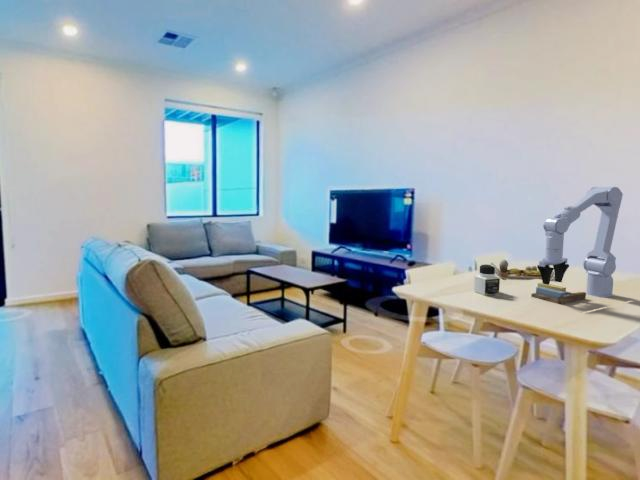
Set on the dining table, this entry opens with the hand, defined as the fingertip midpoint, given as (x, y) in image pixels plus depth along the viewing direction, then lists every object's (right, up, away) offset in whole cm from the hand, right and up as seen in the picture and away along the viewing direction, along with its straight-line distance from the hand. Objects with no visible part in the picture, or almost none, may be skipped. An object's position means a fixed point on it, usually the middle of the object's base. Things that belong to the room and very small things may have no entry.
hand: (552, 282), depth 154 cm
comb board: (+3, -7, +2) cm, 8 cm away
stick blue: (0, -6, +1) cm, 6 cm away
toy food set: (+10, -2, +43) cm, 45 cm away
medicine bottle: (-21, -6, +12) cm, 25 cm away
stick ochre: (+4, -5, +8) cm, 11 cm away
